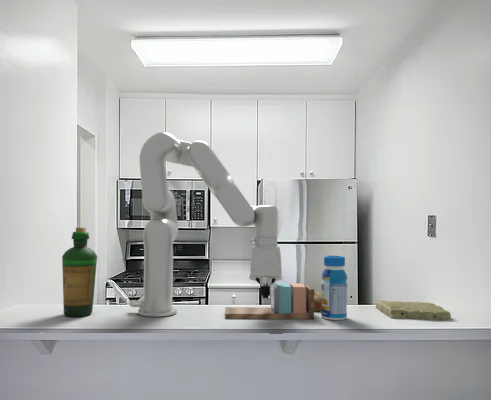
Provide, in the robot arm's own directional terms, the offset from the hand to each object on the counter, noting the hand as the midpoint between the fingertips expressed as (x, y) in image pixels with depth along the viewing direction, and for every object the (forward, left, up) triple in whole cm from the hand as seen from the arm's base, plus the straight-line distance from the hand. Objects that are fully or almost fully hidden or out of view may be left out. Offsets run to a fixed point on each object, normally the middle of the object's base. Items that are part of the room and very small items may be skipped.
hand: (265, 297), depth 144 cm
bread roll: (+19, +11, -6) cm, 23 cm away
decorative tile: (+51, +4, -6) cm, 52 cm away
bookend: (+3, 0, -4) cm, 5 cm away
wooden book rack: (+1, 0, -6) cm, 6 cm away
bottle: (-61, -1, -6) cm, 61 cm away
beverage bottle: (+22, -3, -6) cm, 23 cm away
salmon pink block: (+11, 0, -4) cm, 12 cm away
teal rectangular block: (+6, 0, -4) cm, 7 cm away
